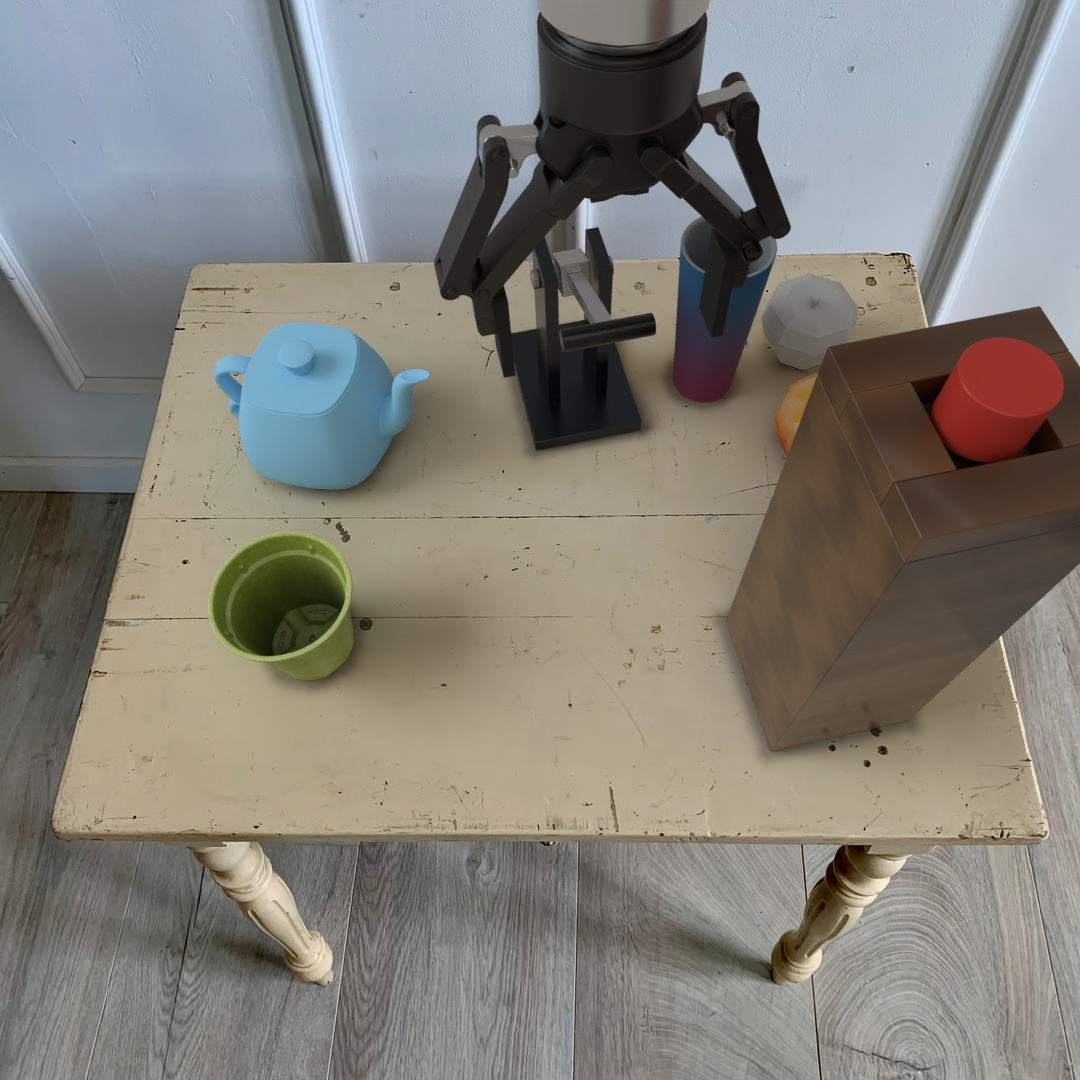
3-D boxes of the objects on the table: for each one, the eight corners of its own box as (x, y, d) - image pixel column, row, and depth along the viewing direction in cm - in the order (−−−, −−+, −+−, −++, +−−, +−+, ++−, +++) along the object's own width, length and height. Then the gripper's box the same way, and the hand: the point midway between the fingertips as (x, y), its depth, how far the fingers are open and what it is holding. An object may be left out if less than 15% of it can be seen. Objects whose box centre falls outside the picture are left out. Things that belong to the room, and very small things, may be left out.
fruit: (911, 467, 69) (887, 422, 63) (814, 507, 73) (782, 469, 66) (875, 387, 73) (849, 338, 67) (785, 429, 76) (752, 385, 70)
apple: (749, 316, 79) (762, 261, 74) (838, 317, 79) (859, 261, 73) (756, 387, 75) (771, 334, 70) (850, 388, 75) (872, 335, 69)
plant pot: (369, 705, 63) (342, 660, 55) (239, 704, 63) (193, 660, 56) (383, 586, 67) (359, 530, 60) (261, 586, 68) (222, 530, 60)
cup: (758, 386, 76) (797, 251, 62) (696, 424, 74) (722, 293, 61) (707, 336, 78) (734, 197, 65) (646, 372, 77) (661, 236, 64)
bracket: (641, 430, 74) (655, 303, 61) (535, 451, 73) (527, 327, 60) (605, 324, 79) (612, 187, 66) (507, 342, 79) (494, 208, 66)
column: (909, 720, 61) (1161, 489, 35) (770, 752, 60) (921, 539, 34) (854, 593, 66) (1040, 305, 40) (725, 620, 65) (827, 345, 39)
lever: (657, 345, 57) (655, 310, 55) (565, 363, 56) (561, 327, 55) (608, 274, 67) (606, 243, 65) (530, 288, 66) (526, 257, 65)
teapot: (406, 438, 61) (162, 406, 63) (428, 517, 70) (215, 487, 72) (448, 303, 67) (223, 278, 69) (463, 392, 76) (265, 367, 78)
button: (1045, 453, 37) (1084, 405, 34) (954, 471, 36) (986, 425, 34) (1001, 379, 39) (1034, 328, 36) (914, 396, 38) (941, 346, 36)
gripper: (861, -81, 41) (775, 265, 60) (329, 5, 40) (409, 334, 58) (929, 8, 38) (814, 348, 56) (347, 107, 36) (426, 423, 54)
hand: (608, 341), depth 57 cm, fingers open, 13 cm apart
